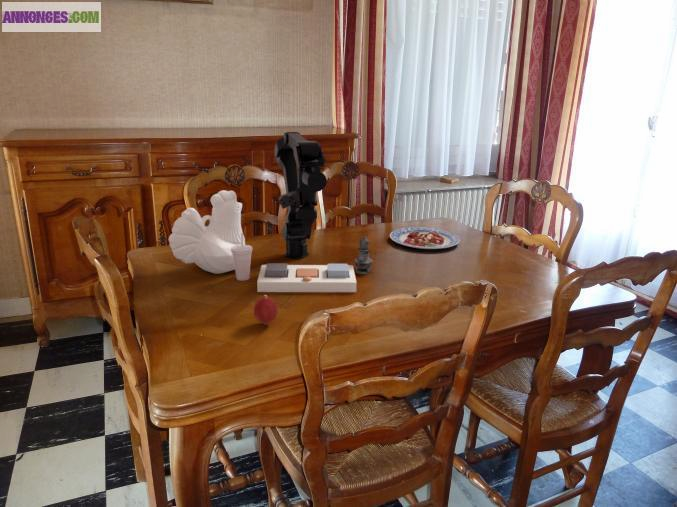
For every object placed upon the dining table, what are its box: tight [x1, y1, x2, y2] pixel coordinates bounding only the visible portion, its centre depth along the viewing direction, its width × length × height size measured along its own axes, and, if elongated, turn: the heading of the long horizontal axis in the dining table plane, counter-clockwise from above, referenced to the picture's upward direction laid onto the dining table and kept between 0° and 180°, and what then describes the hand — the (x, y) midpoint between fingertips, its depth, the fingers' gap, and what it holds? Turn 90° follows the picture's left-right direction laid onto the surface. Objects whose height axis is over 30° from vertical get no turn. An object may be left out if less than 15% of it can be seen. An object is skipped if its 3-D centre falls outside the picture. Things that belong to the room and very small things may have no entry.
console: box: [256, 264, 357, 293], centre depth 155 cm, size 28×14×4 cm, turn 93°
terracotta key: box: [297, 268, 318, 278], centre depth 154 cm, size 6×6×3 cm
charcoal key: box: [265, 262, 288, 278], centre depth 154 cm, size 6×6×3 cm
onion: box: [253, 294, 279, 326], centre depth 128 cm, size 6×6×8 cm
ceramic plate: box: [389, 226, 460, 250], centre depth 195 cm, size 26×26×3 cm
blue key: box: [326, 263, 349, 278], centre depth 154 cm, size 6×6×3 cm
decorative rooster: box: [168, 189, 246, 275], centre depth 159 cm, size 25×16×25 cm, turn 125°
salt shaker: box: [354, 234, 374, 275], centre depth 163 cm, size 6×6×12 cm
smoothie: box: [231, 232, 254, 282], centre depth 155 cm, size 6×6×14 cm
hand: (306, 233), depth 162 cm, fingers closed
